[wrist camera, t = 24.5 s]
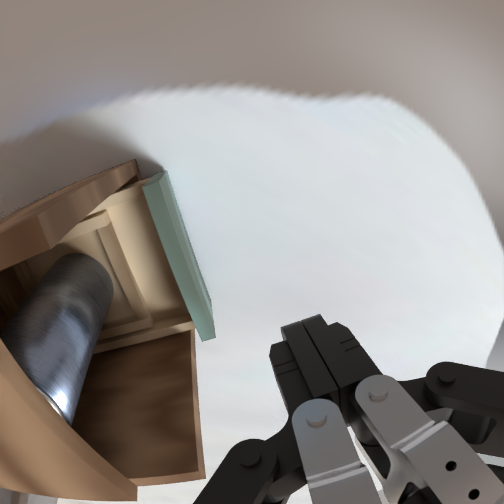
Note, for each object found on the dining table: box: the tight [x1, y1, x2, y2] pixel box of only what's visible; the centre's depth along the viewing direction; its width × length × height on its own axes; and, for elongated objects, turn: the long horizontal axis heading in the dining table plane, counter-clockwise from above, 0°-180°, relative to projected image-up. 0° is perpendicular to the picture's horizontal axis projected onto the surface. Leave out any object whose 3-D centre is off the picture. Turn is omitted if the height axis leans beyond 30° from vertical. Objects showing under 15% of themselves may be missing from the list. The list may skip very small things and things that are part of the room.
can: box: [0, 253, 114, 427], centre depth 15 cm, size 5×5×12 cm
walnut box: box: [0, 159, 206, 501], centre depth 15 cm, size 16×14×16 cm
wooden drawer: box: [0, 170, 216, 354], centre depth 20 cm, size 17×11×5 cm, turn 104°
